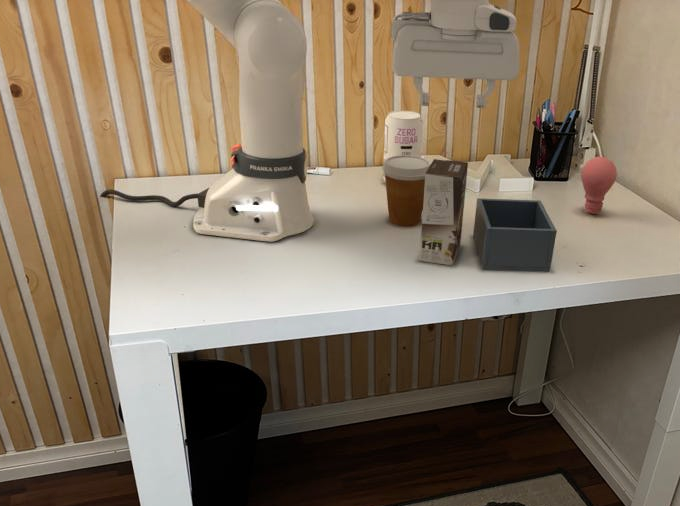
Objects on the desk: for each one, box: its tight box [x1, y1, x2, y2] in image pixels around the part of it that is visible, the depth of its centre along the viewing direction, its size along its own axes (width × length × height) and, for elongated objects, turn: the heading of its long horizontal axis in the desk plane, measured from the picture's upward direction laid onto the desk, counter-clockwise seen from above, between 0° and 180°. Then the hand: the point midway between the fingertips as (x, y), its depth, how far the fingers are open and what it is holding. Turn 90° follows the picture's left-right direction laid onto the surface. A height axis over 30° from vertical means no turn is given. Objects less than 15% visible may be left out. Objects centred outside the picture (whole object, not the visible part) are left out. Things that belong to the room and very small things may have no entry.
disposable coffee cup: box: [382, 155, 431, 228], centre depth 143 cm, size 10×10×12 cm
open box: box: [472, 197, 558, 273], centre depth 134 cm, size 12×15×8 cm
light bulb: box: [580, 156, 618, 215], centre depth 152 cm, size 7×7×12 cm
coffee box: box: [418, 158, 469, 266], centre depth 130 cm, size 9×6×16 cm
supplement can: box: [382, 110, 424, 183], centre depth 161 cm, size 8×8×15 cm
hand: (452, 106), depth 120 cm, fingers open, 8 cm apart
